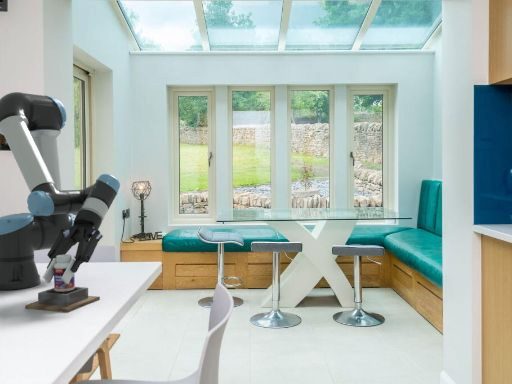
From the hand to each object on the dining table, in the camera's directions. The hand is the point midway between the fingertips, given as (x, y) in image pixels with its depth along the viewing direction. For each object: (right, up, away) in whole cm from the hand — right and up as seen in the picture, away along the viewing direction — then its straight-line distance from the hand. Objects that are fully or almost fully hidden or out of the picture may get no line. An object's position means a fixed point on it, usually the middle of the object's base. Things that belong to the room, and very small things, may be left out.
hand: (55, 280), depth 137 cm
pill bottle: (+1, -3, +4) cm, 5 cm away
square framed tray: (+1, -7, +4) cm, 8 cm away
